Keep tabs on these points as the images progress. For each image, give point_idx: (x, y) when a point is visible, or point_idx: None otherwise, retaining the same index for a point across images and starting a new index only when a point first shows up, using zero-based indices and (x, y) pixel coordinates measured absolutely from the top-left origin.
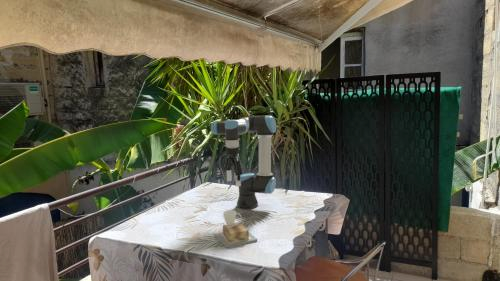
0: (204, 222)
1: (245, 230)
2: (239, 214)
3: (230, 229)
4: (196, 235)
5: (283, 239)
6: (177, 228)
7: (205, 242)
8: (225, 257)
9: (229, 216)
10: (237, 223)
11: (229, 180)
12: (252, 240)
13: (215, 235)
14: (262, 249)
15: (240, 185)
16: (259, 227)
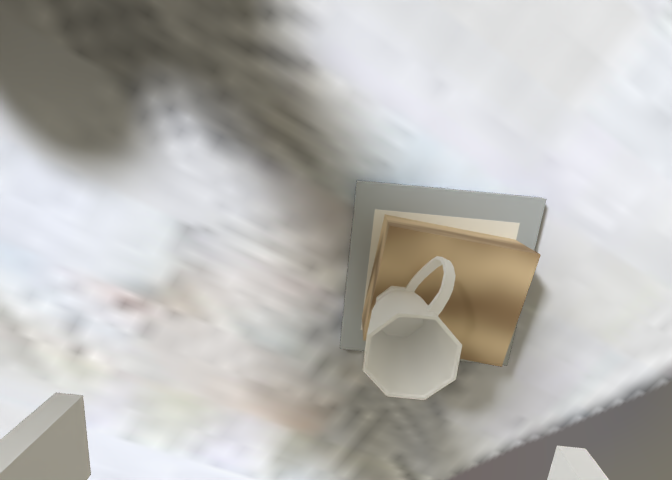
0: (126, 310)
1: (529, 271)
2: (452, 287)
3: (453, 333)
4: (280, 406)
5: (629, 49)
6: (147, 441)
7: (382, 405)
8: (581, 401)
9: (446, 368)
10: (422, 273)
11: (77, 450)
12: (538, 228)
13: (347, 346)
14: (640, 229)
15: (589, 462)
16: (373, 71)
